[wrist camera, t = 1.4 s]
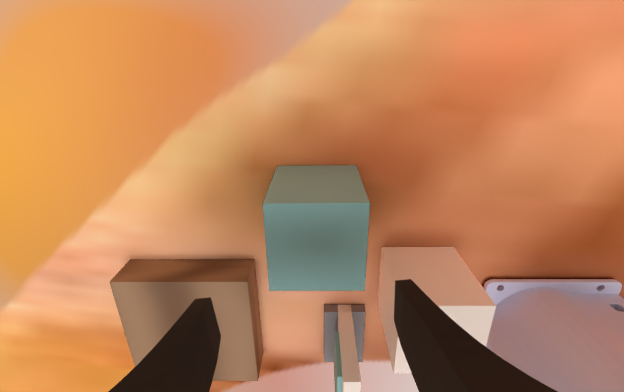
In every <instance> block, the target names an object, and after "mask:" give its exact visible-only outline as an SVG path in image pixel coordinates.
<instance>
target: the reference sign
mask: <svg viewBox="0 0 624 392" xmlns="http://www.w3.org/2000/svg"><path fill="white" fill-rule="evenodd" d="M364 327H365V307H364V305H324V362H334V377H335V392H360V391H361V378H360V371H359V363H358V362H362V359H363V343H364Z"/></svg>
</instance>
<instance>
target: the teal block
mask: <svg viewBox="0 0 624 392" xmlns="http://www.w3.org/2000/svg"><path fill="white" fill-rule="evenodd" d="M369 210H370V202H369V199H368V196H367V194H366V191H365V188H364V185H363V182H362V180H361V177H360V174H359V171H358V169H357V166H356V165H288V166H277V167H276V170H275V173H274V175H273V178H272V181H271V183H270V186H269V188H268V191H267V194H266V196H265V199H264V202H263V214H264V227H265V240H266V253H267V266H268V279H269V291H365V277H366V260H367V243H368V227H369Z"/></svg>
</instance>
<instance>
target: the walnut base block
mask: <svg viewBox="0 0 624 392" xmlns="http://www.w3.org/2000/svg"><path fill="white" fill-rule="evenodd" d="M110 285H111V288H112V292H113V295H114V298H115V302H116V305H117V308H118V312H119V315H120V318H121V322H122V325H123V328H124V332H125V335H126V338H127V342H128V345H129V348H130V352H131V355H132V358H133V362H134V365H135V367H136V366H137V365H138V364H139V363H140V362H141V360H142V359H143V358H144V357H145V356H146V355H147V354H148V353H149V352H150V351H151V350H152V349H153V348H154V347H155V346H156V344H157V343H158V342H159V341H160V340H161V339H162V338H163V336H164V335H165V334H166V333H167V332H168V331H169V330H170V328H171V327H172V326H173V325H174V324H175V322H176V321H177V320H178V319H179V318H180V316H181V315H182V314H183V313H184V312H185V310H186V309H187V308H188V307H189V306H190V304H191V303H192V302H193V301H194V300H195V299H199V298H210V297H211V300H212V303H213V307H214V311H215V315H216V319H217V322H218V326H219V330H220V334H221V340H220V347H219V354H218V360H217V365H216V368H215V372H214V376H213V379H212V381H258V378H259V373H260V367H261V362H262V357H263V345H262V334H261V323H260V313H259V302H258V291H257V281H256V270H255V259H212V260H129V262H128V263H127V264H126V265H125V266H124V267H123V268H122V269H121V270H120V271H119V272H118V273H117V274H116V276H115V277H114V278H113V279H112V280H111V281H110Z"/></svg>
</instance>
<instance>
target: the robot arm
mask: <svg viewBox="0 0 624 392" xmlns="http://www.w3.org/2000/svg"><path fill="white" fill-rule="evenodd" d="M499 285H501V286H500V287H498V286H499ZM497 287H498V288H497ZM483 288H484V290H485V291H486V292H487V294H488V295H489V297H490V298H491V299H492V301H493V302H494V304H495V305H496V308H495V312H494V316H493V320H492V324H491V328H490V332H489V336H488V340H487V344H486V346H484V345H483V344H481V343H480V342H479V341H477V340H476V339H475V338H474V337H472V336H471V335H470V334H469V333H468V332H466V331H465V330H464V329H463V328H462V327H460V326H459V325H458V324H457V323H456V322H455V321H453V320H452V319H451V318H450V317H449V316H448V315H447V314H446V313H445V312H444V311H443V310H442V309H440V308H439V307H438V306H437V305H436V304H435V303H434V302H433V301H432V300H431V299H430V298H429V297H428V296H427V295H426V294H425V293H424V292H423V291H422V290H421V289H420V288H419V287H418V286H417V285H416V284H415V283H414V282H413V281H412V280H411V279H407V280H396V281H395V299H394V323H395V326H396V330H397V334H398V338H399V341H400V345H401V347H402V350H403V352H404V355H405V358H406V360H407V363H408V365H409V368H410V370H411V372H412V375H413V377H414V380H415V382H416V385H417V387H418V390H419V392H624V298H622V297H621V296H620V295H619V293H620V291H621V289H622V284H621V283H620V282H619V281H617V280H615V279H491V280H488V281H486V282H485V284H484V287H483ZM220 340H221V334H220V330H219V326H218V322H217V319H216V315H215V311H214V307H213V303H212V300H211V297H210V298H199V299H195V300H194V301H193V302H192V303H191V304H190V306H189V307H188V308H187V309H186V310H185V312H184V313H183V314H182V315H181V316H180V318H179V319H178V320H177V321H176V322H175V324H174V325H173V326H172V327H171V328H170V330H169V331H168V332H167V333H166V334H165V335H164V336H163V338H162V339H161V340H160V341H159V342H158V343H157V344H156V346H155V347H154V348H153V349H152V350H151V351H150V352H149V353H148V354H147V355H146V356H145V357H144V358H143V359H142V360H141V362H140V363H139V364H138V365H137V366H136V367H135V368H134V369H133V370H132V371H131V372H130V373H129V374H127V375H126V376H125V377H124V378H123V379H122V380H121V381H120V382H119V383H118V384H117V385H116V386H114V387H113V388H112V389H111V390H110V391H109V392H209V390H210V387H211V383H212V379H213V376H214V372H215V368H216V365H217V360H218V354H219V347H220Z"/></svg>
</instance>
